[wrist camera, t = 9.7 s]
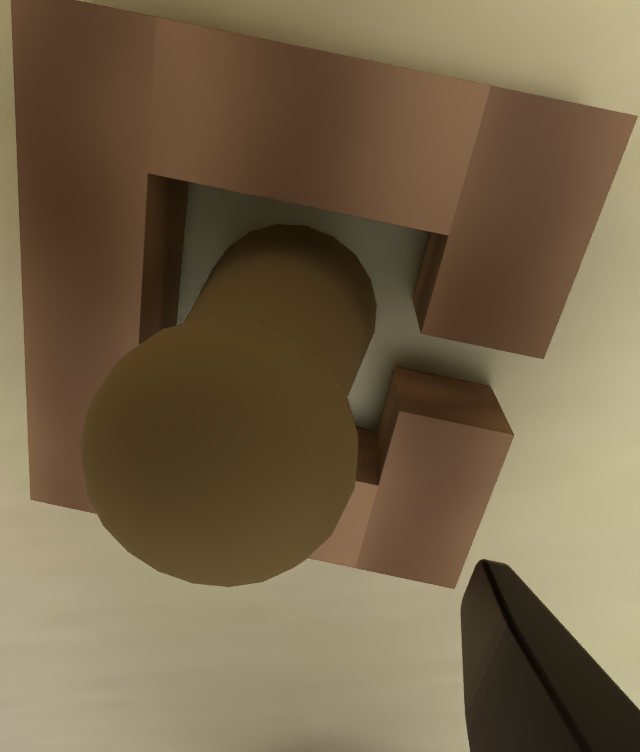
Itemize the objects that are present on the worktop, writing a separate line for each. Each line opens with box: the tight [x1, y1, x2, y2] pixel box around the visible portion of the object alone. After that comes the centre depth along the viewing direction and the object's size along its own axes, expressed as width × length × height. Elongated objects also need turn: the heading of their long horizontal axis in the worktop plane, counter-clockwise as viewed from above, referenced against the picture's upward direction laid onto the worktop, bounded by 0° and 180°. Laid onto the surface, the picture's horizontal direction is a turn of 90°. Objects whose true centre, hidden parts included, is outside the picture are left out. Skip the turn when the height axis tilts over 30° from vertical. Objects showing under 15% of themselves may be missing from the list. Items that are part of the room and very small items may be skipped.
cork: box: [80, 224, 377, 587], centre depth 14 cm, size 6×6×11 cm
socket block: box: [11, 0, 638, 589], centre depth 17 cm, size 15×15×4 cm
